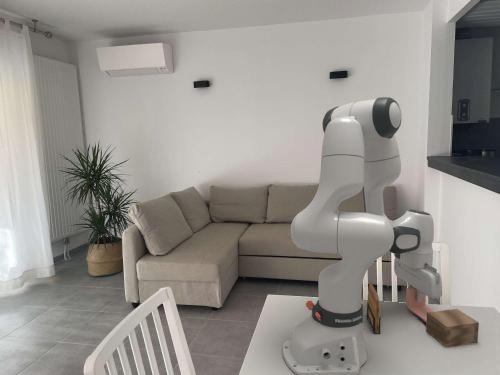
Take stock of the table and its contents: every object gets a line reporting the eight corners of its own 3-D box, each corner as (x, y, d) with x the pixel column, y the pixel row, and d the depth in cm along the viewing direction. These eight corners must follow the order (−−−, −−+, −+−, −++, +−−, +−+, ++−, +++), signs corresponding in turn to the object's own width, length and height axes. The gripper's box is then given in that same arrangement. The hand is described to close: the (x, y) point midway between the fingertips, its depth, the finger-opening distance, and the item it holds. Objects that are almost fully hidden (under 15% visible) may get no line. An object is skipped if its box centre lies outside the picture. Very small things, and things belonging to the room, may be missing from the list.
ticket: (433, 328, 102) (434, 306, 101) (405, 306, 115) (406, 287, 115) (451, 325, 103) (452, 304, 102) (422, 304, 116) (422, 285, 115)
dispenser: (445, 347, 95) (446, 326, 94) (426, 331, 103) (426, 312, 102) (477, 342, 96) (478, 322, 96) (456, 327, 104) (457, 308, 103)
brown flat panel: (366, 315, 113) (367, 280, 111) (372, 316, 113) (373, 280, 111) (373, 334, 102) (374, 295, 101) (380, 334, 102) (381, 296, 100)
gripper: (449, 269, 103) (446, 313, 105) (407, 248, 123) (406, 285, 125) (429, 271, 102) (428, 315, 104) (391, 250, 122) (390, 287, 124)
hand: (415, 299), depth 115 cm, fingers closed on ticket, 2 cm apart
